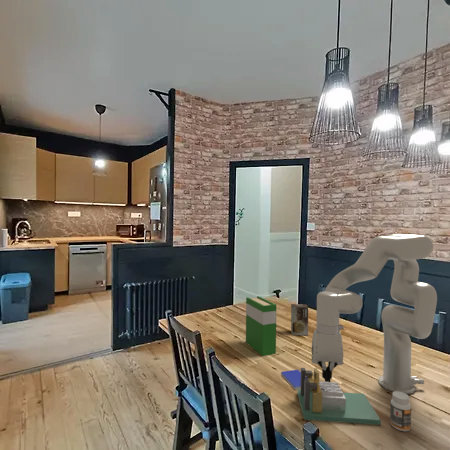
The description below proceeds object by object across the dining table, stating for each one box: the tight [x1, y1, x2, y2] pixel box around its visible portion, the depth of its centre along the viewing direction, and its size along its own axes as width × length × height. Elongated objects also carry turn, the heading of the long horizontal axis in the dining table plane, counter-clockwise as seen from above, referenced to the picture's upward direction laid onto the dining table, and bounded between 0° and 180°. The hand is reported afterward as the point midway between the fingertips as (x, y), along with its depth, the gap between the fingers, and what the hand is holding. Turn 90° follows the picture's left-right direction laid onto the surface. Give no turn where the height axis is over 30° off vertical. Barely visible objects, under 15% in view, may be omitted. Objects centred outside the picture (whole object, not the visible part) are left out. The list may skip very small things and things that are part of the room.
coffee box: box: [290, 303, 309, 336], centre depth 176 cm, size 9×6×16 cm
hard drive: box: [280, 369, 301, 391], centre depth 125 cm, size 2×8×12 cm
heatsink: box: [319, 380, 346, 412], centre depth 107 cm, size 8×10×6 cm
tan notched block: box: [306, 367, 322, 413], centre depth 107 cm, size 3×14×10 cm, turn 175°
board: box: [296, 367, 382, 426], centre depth 106 cm, size 24×15×11 cm, turn 85°
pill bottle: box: [389, 391, 412, 432], centre depth 97 cm, size 6×6×10 cm
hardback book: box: [245, 295, 277, 357], centre depth 156 cm, size 18×7×24 cm, turn 23°
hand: (326, 380), depth 107 cm, fingers closed
